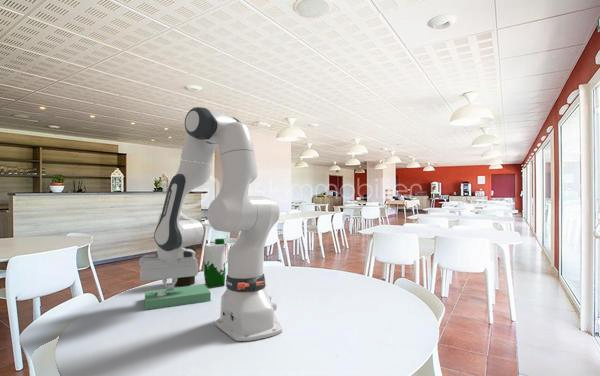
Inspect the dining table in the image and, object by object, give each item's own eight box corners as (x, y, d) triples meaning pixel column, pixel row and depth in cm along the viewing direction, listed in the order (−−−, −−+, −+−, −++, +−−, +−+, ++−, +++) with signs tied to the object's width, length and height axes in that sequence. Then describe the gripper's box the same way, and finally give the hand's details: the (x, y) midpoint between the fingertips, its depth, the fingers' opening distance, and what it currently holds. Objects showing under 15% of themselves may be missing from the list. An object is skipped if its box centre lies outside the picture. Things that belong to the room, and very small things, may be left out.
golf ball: (160, 304, 117) (168, 298, 119) (154, 297, 116) (163, 291, 118) (159, 301, 120) (168, 295, 122) (154, 294, 120) (163, 288, 121)
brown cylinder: (165, 285, 141) (166, 228, 142) (183, 279, 151) (183, 226, 152) (184, 288, 137) (184, 229, 138) (201, 282, 147) (201, 227, 148)
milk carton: (227, 286, 140) (227, 240, 141) (205, 288, 136) (205, 241, 137) (222, 281, 148) (223, 237, 149) (202, 283, 144) (202, 238, 145)
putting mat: (204, 291, 132) (204, 284, 132) (210, 300, 120) (210, 292, 120) (144, 299, 122) (144, 291, 122) (145, 309, 111) (145, 301, 111)
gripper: (139, 256, 113) (138, 296, 113) (199, 252, 122) (198, 288, 122) (139, 254, 119) (138, 291, 118) (196, 249, 128) (196, 284, 128)
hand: (169, 290), depth 120 cm, fingers closed
